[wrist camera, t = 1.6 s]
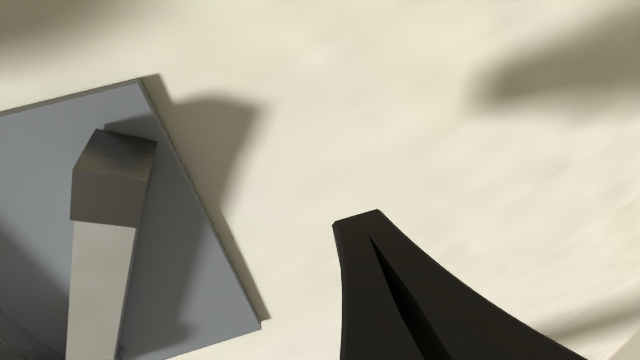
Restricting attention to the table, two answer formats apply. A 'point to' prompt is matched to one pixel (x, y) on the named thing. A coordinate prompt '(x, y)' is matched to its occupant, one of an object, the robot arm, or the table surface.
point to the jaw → (105, 239)
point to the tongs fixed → (22, 342)
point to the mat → (152, 243)
